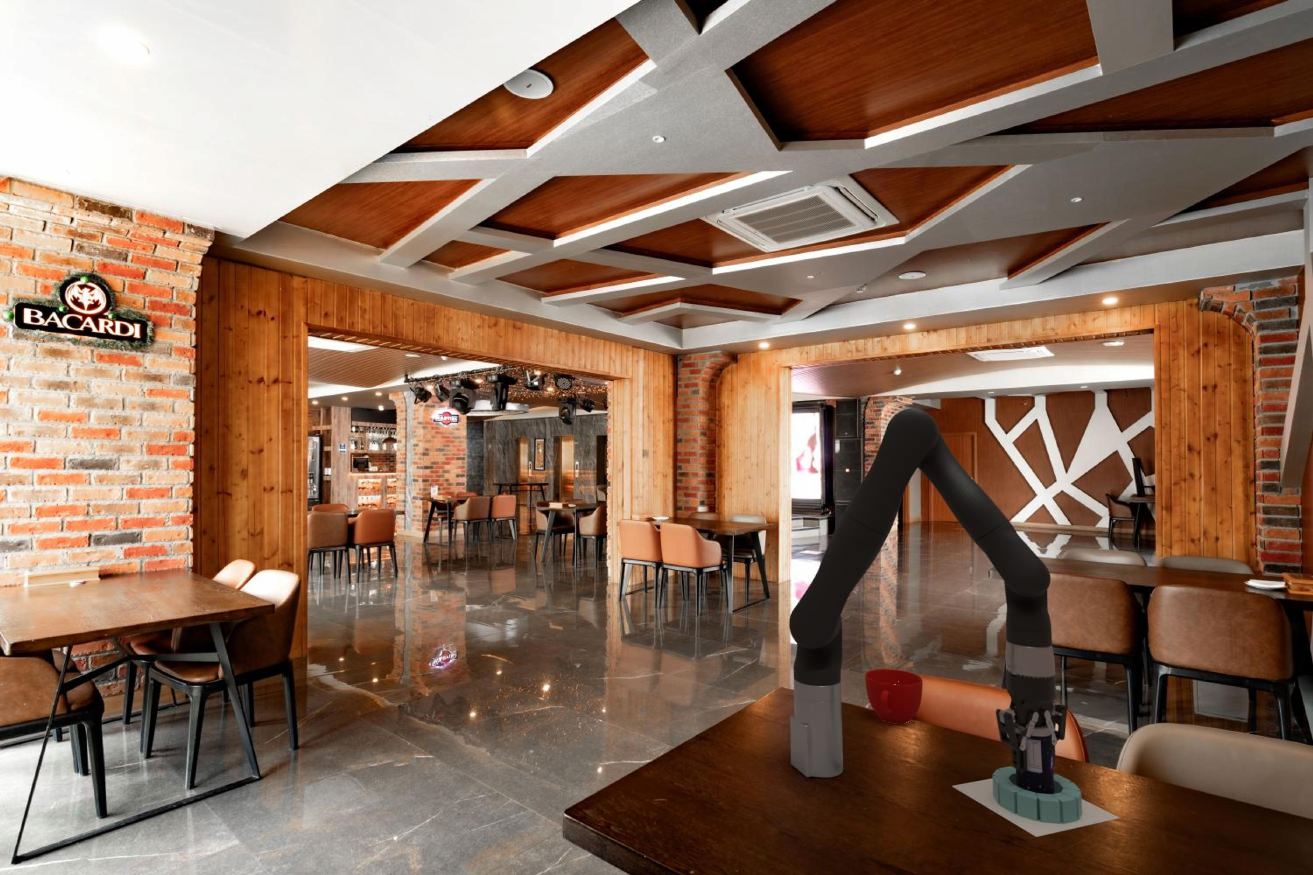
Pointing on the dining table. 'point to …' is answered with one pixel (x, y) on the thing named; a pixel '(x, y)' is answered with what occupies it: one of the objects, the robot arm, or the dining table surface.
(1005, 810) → the mat
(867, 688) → the ceramic cup
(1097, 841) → the dining table surface
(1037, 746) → the beverage can
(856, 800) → the dining table surface
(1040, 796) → the ring
